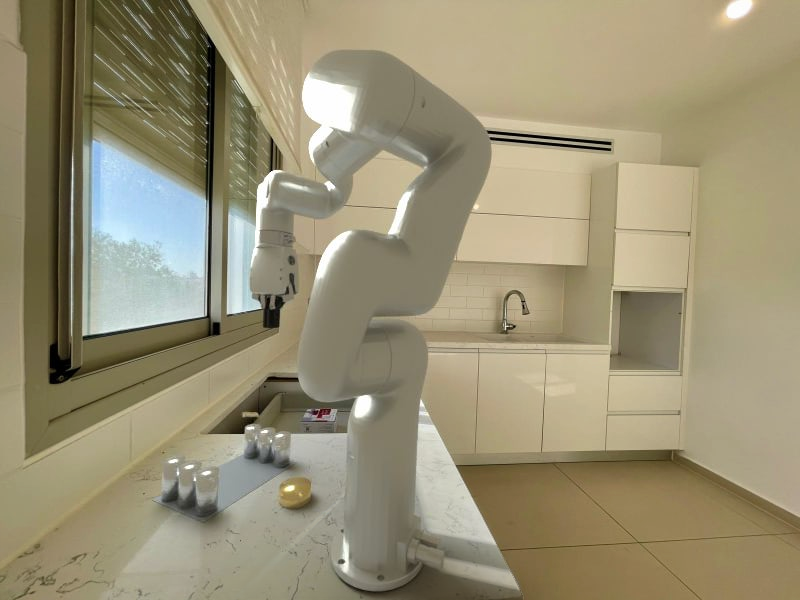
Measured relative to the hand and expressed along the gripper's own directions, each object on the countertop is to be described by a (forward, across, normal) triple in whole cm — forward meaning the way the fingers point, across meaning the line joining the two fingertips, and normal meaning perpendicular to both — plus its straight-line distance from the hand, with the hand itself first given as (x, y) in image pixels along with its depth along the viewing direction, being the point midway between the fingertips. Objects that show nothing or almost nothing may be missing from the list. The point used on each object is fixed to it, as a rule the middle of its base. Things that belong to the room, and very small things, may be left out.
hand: (271, 327), depth 71 cm
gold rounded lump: (+27, -17, +11) cm, 34 cm away
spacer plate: (+27, -3, +11) cm, 29 cm away
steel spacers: (+27, -3, +11) cm, 29 cm away
